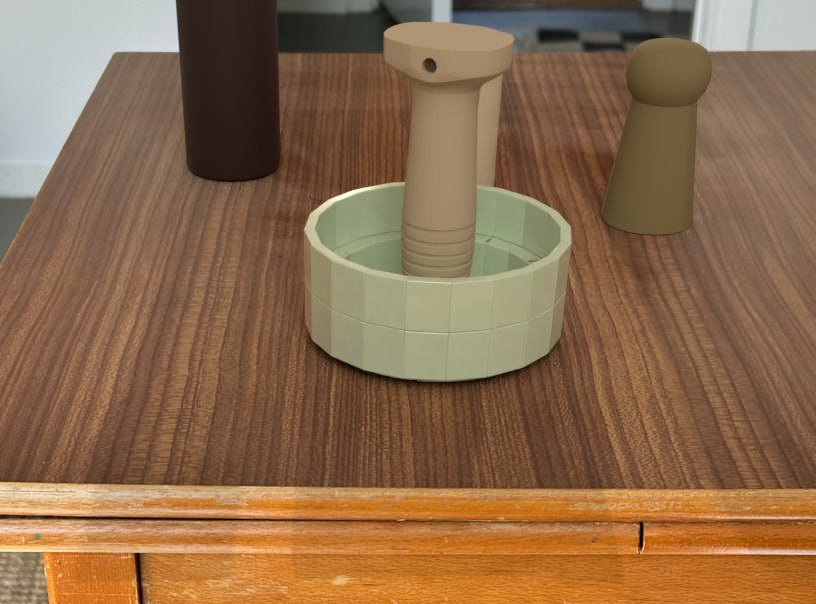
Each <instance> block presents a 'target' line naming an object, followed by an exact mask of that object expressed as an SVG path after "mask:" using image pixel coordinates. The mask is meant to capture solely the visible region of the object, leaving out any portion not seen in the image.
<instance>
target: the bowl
mask: <svg viewBox="0 0 816 604" xmlns="http://www.w3.org/2000/svg"><path fill="white" fill-rule="evenodd" d="M404 190H405V181H398V182H388V183H387V182H386V183H382V184H377V185H372V186H367V187H361V188H357V189H352V190H349V191H347V192H345V193H342V194H340V195H337V196H334V197H331V198H329V199H327V200H326V201H324V202H323V203H322V204H320V205H319V206H317V207H316V208H315V209H314V210H312V211H311V212H310V213H309V215H308V217H307V221H306V222H305V225H304V228H303V267H304V268H303V271H304V272H303V275H304V323H305V326H306V328H307V332H308V333H309V336H310V338H311V340H312V342H313V343H315V344H316V345H317V346H318V347H319V348H321V349H322V350H323V351H324V352H325V353H326V354H328V355H329V356H330V357H332V358H335V359H337V360H339V361H341V362H344V363H346V364H348V365H351V366H353V367H355V368H358V369H360V370H362V371H365V372H368V373H369V372H370V373H374V374H376V375H377V374H378V375H380V376H384V377H389V378H393V379H398V378H399V379H398V380H405V379H406V380H405V381H412V380H417V381H416V382H423V383H455V382H465V381H466V382H467V381H474V380H481V379H484V378H485V379H486V378H490V377H494V376H498V375H501V374H505V373H509V372H513V371H517V370H521V369H522V368H525V367H527V366H529V365H531V364H532V363H534V362H536V361H538V360H540V359H541V358H543V357H545V356H547V354H549V353H550V352H551V350H552V349H553V348H554V346H555V345H556V344H557V342H558V341H559V339H560V338H561V336H562V329H563V321H564V313H565V303H566V295H567V286H568V278H569V271H570V262H571V254H572V246H573V245H572V244H573V240H572V239H573V237H572V227H571V225H570V223H568V221H567V220H566V219H565V218H564V217H563V216H562V214H560V212H559V211H558V210H556V209H554V208H552V207H550V206H549V205H547V204H545V203H543V202H541V201H539V200H538V199H536V198H533V197H531V196H527V195H524V194H521V193H518V192H514V191H511V190H509V189H506V188H505V189H504V188H501V187H495V186H494V187H490V186H484V185H478V184H476V231H475V244H474V253H473V260H472V266H471V272H470V277H463V278H432V277H414V276H405V275H402V262H401V254H402V253H401V231H402V230H401V225H402V210H403V200H404Z"/></svg>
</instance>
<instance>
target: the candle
mask: <svg viewBox="0 0 816 604" xmlns="http://www.w3.org/2000/svg"><path fill="white" fill-rule="evenodd" d="M503 76H504V73H503V74H501V75H500V76H498V77H497V78H495V79H493V80H491V81H488V82H487V83H485V84H483V85H482V86H481V90H480V97H479V103H478V124H477V183H476V184H478V185H484V186H490V187H495V178H496V177H495V176H496V165H497V162H496V161H497V151H498V138H499V128H500V127H499V126H500V113H501V100H502V90H503V89H502V88H503Z"/></svg>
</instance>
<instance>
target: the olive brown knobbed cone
mask: <svg viewBox="0 0 816 604" xmlns="http://www.w3.org/2000/svg"><path fill="white" fill-rule="evenodd" d="M625 69H626V70H625V78H626V79H625V80H626V87H627V90H628V92H629V93H630V95H631V97H630V101H629V105H628V109H627V112H626V113H627V114H626V117H625V120H624V123H623V128H622V131H621V135H620V139H619V142H618V146H617V149H616V153H615V158H614V161H613V165H612V169H611V173H610V176H609V179H608V183H607V187H606V191H605V195H604V199H603V203H602V206H601V210H600V219H602V221H603V222H604V223H605V224H607V225H608V226H610V227H612V228H614V229H617V230H620V231H623V232H627V233H632V234H638V235H647V236H649V235H651V236H660V235H661V236H662V235H672V234H676V233H681V232H683V231H685V230H686V229H688V228H690V227H691V225H692V224H693V220H694V195H695V193H694V192H695V174H696V173H695V171H696V148H697V147H696V145H697V122H698V100H699V99H700V98H701V97H702V96H703V95H704V94H705V92H706V91H707V89H708V86H709V85H710V82H711V79H712V72H713V62H712V59H711V56H710V54H709V51H708V49H707V48H706V47H704V45H701V44H700V43H698V42H695V41H693V40H689V39H684V38H677V37H660V38H659V37H658V38H651V39H647V40H645V41H642V42H641V43H639V44H638V45H637V46H636V47H635V48H634V49H633V50H632V51H631V53H630V55H629V57H628V60H627V62H626V68H625Z"/></svg>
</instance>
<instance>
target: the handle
mask: <svg viewBox="0 0 816 604" xmlns="http://www.w3.org/2000/svg"><path fill="white" fill-rule="evenodd" d="M514 47H515V37H514V35H512V33H508V32H505V31H501V30H499V29H494V28H491V27H486V26H481V25H474V24H465V23H459V22H448V21H447V22H446V21H408V22H402V23H400V24H395V25H393V26H389V28H387V29H386V30H385V31H384V32H383V46H382V48H383V52H382V53H383V60H384V62H385V64H386V65H388V66H389V67H391V68H392V69H393V70H394V71H396V72H397V73H399V74H400V75H402V76H403V77H404V78H405V79H407V81H408V83H410V85H411V87H410V88H411V115H410V117H411V118H410V127H409V138H408V139H409V140H408V151H407V160H406V161H407V162H406V171H405V172H406V173H405V181H404V182H405V190H404V200H403V210H402V225H401V230H402V231H401V253H402V254H401V262H402V275H405V276H414V277H432V278H463V277H470V272H471V266H472V260H473V253H474V244H475V231H476V183H477V124H478V103H479V97H480V90H481V86H482V85H483V84H485V83H487V82H488V81H491V80H493V79H495V78H497V77H498V76H500V75H501V74H503V75H504V73H505V72H507V71H508V70H509V69H510V68H511V66H512V63H513V58H514V51H515V50H514Z"/></svg>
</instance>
